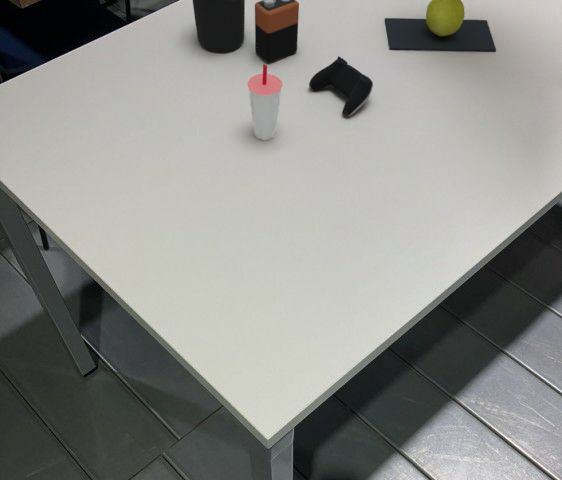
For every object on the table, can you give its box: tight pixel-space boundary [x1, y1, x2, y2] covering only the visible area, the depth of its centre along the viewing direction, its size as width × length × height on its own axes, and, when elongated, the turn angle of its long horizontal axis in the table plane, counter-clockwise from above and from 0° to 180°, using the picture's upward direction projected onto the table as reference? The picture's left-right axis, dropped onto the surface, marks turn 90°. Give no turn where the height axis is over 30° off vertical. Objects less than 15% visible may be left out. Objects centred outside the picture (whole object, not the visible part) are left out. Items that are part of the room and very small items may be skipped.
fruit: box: [425, 0, 466, 36], centre depth 113 cm, size 7×7×12 cm
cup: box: [247, 64, 283, 141], centre depth 98 cm, size 5×5×12 cm
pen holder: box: [192, 0, 246, 54], centre depth 112 cm, size 9×9×10 cm
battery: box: [254, 0, 300, 64], centre depth 110 cm, size 4×7×10 cm, turn 125°
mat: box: [384, 17, 497, 53], centre depth 118 cm, size 20×10×1 cm, turn 90°
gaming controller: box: [308, 55, 374, 118], centre depth 107 cm, size 11×4×7 cm
